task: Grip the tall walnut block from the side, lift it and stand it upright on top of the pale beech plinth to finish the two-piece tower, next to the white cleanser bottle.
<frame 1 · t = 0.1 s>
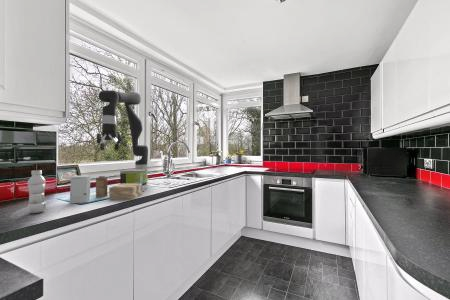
hand: (109, 150, 123), 29 cm above the countertop, tool pointing down, fingers open, 8 cm apart
walnut block: (101, 196, 129), on the countertop
plastic bottle: (37, 213, 96), on the countertop
tea box: (133, 190, 148), on the countertop
skincare box: (80, 202, 116), on the countertop
plinth: (126, 196, 128), on the countertop
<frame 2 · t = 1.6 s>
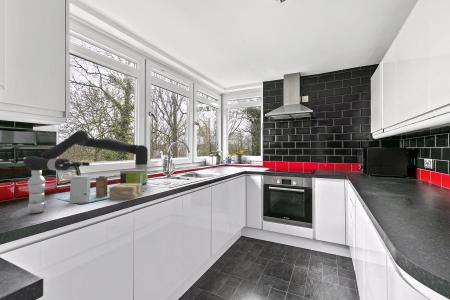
hand: (84, 164, 129), 20 cm above the countertop, tool horizontal, fingers open, 8 cm apart
nothing on the countertop moved.
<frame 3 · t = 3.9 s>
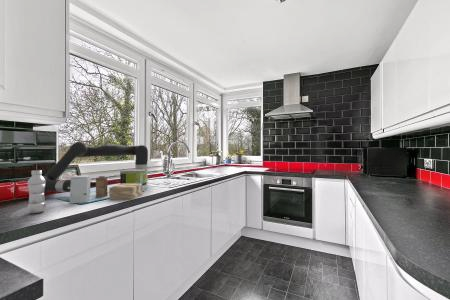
hand: (91, 185, 129), 7 cm above the countertop, tool horizontal, fingers open, 8 cm apart
nothing on the countertop moved.
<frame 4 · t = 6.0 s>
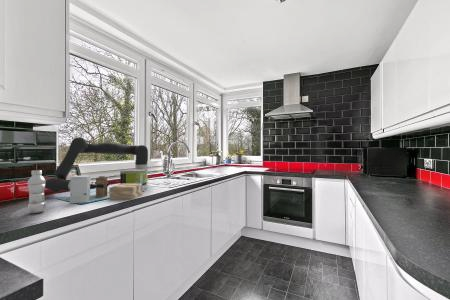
hand: (105, 185, 129), 7 cm above the countertop, tool horizontal, fingers closed on walnut block, 4 cm apart
walnut block: (101, 196, 129), on the countertop, touching gripper
everything else where it was.
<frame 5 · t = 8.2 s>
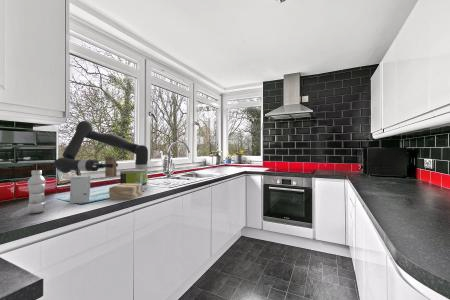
hand: (115, 165, 128), 20 cm above the countertop, tool horizontal, fingers closed on walnut block, 4 cm apart
walnut block: (111, 176, 129), point 13 cm above the countertop, touching gripper
everything else where it was.
when the fingers open (15 cm above the countertop, at t = 10.2 s): walnut block stays where it is, resting on plinth.
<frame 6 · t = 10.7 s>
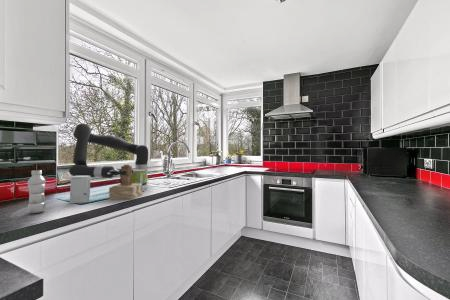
hand: (129, 172, 128), 16 cm above the countertop, tool horizontal, fingers open, 8 cm apart
walnut block: (126, 185, 128), point 7 cm above the countertop, touching plinth
everything else where it was.
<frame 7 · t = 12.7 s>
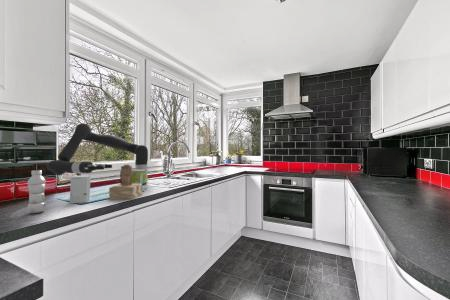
hand: (107, 166, 129), 19 cm above the countertop, tool horizontal, fingers open, 8 cm apart
nothing on the countertop moved.
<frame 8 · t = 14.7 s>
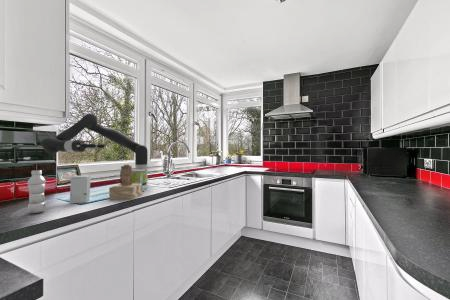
hand: (100, 146, 130), 32 cm above the countertop, tool horizontal, fingers open, 8 cm apart
nothing on the countertop moved.
at the end: walnut block inside the target area on the plinth (0.1 cm from its centre), point 7.3 cm above the plinth's base; walnut block tilted 0°; the gripper is holding nothing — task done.
